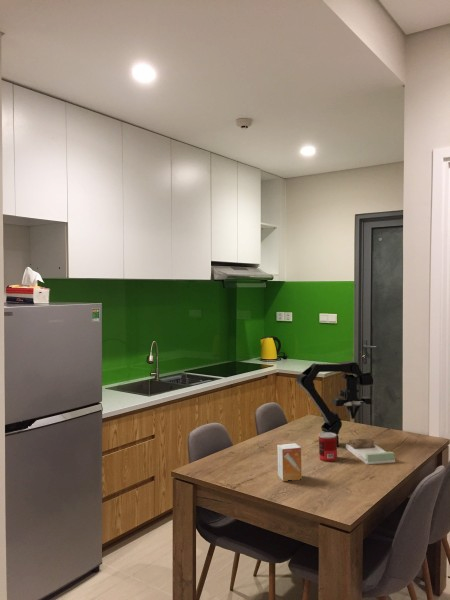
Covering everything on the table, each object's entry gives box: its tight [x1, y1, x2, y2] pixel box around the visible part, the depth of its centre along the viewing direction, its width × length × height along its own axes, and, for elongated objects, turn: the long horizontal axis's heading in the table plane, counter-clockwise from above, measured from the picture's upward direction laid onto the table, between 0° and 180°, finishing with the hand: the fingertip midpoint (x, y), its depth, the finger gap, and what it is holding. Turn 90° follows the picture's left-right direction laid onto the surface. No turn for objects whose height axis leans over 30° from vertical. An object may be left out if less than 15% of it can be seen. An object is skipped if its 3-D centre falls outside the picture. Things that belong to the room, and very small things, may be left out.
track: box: [345, 443, 396, 465], centre depth 230 cm, size 13×24×4 cm, turn 8°
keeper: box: [348, 438, 375, 449], centre depth 238 cm, size 10×4×3 cm, turn 98°
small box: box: [276, 443, 303, 482], centre depth 203 cm, size 8×6×13 cm
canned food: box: [318, 431, 338, 463], centre depth 225 cm, size 8×8×11 cm
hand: (352, 418), depth 248 cm, fingers closed
